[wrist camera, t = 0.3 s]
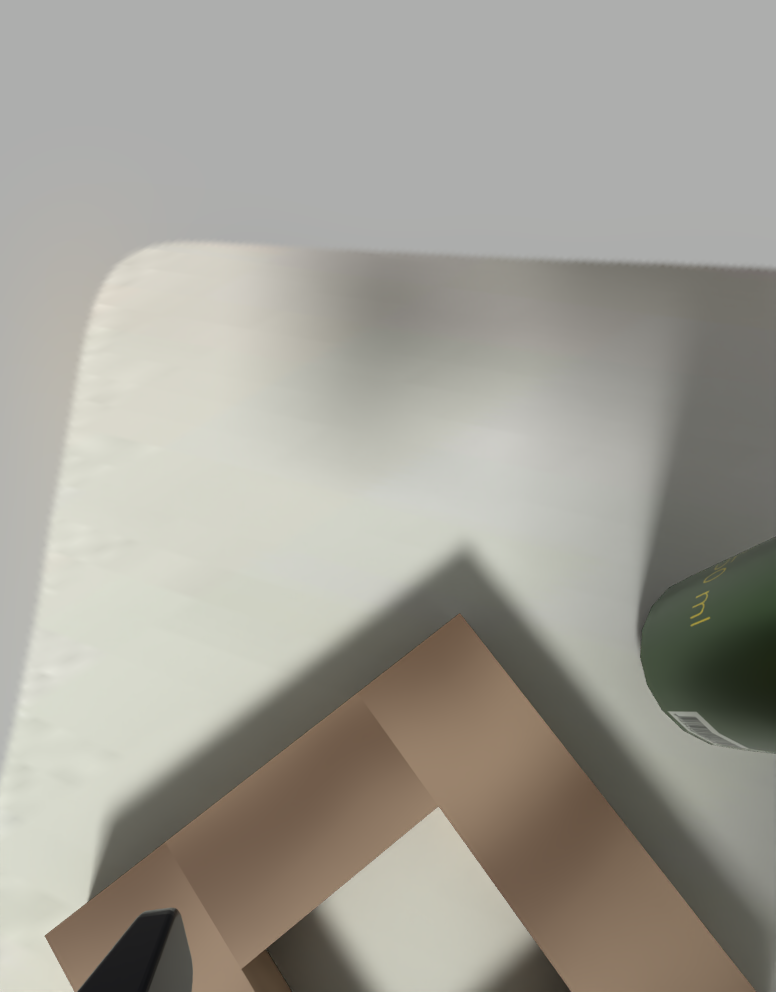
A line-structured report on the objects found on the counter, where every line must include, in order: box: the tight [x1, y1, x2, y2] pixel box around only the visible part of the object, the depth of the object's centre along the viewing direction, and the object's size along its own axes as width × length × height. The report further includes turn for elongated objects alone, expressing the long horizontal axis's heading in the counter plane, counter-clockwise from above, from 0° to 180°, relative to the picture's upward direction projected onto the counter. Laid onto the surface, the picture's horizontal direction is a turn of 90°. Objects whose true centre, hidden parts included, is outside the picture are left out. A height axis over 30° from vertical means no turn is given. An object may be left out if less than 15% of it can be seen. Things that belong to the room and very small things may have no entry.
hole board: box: [45, 613, 756, 992], centre depth 19 cm, size 14×14×2 cm
